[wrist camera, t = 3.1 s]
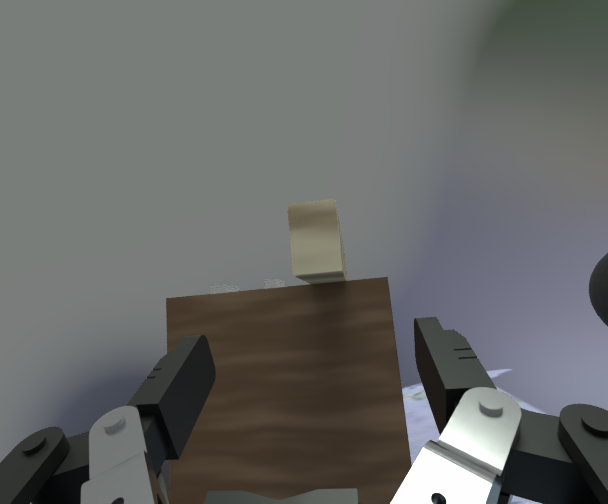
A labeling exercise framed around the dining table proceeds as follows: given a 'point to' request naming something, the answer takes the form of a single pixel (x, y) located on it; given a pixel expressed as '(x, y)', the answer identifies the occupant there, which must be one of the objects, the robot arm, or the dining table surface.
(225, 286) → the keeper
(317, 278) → the bar
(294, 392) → the stand
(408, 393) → the dining table surface
